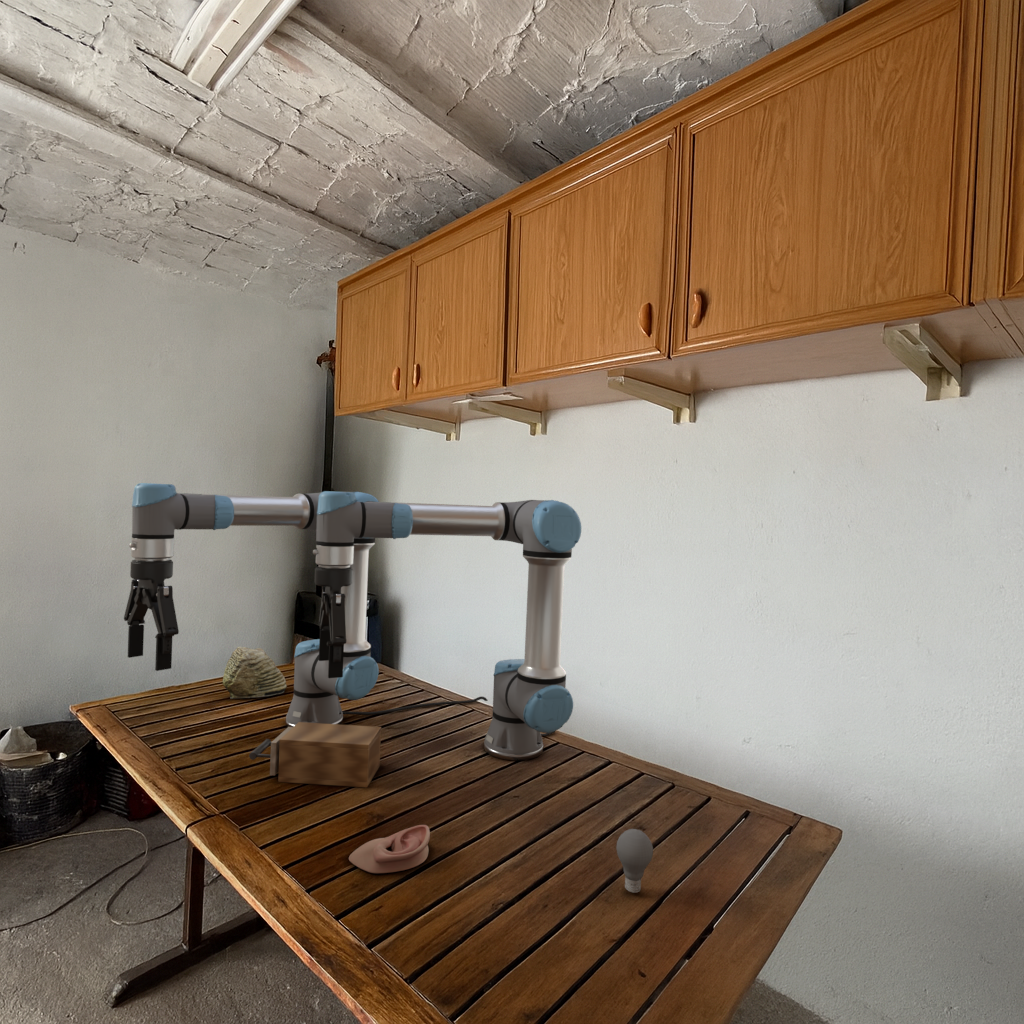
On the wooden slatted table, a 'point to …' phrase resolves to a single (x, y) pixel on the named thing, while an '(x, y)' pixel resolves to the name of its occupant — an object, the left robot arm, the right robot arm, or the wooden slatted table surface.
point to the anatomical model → (393, 851)
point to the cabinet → (330, 754)
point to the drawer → (274, 752)
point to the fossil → (252, 674)
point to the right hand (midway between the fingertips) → (330, 668)
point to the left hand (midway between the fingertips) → (148, 662)
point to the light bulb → (634, 857)
